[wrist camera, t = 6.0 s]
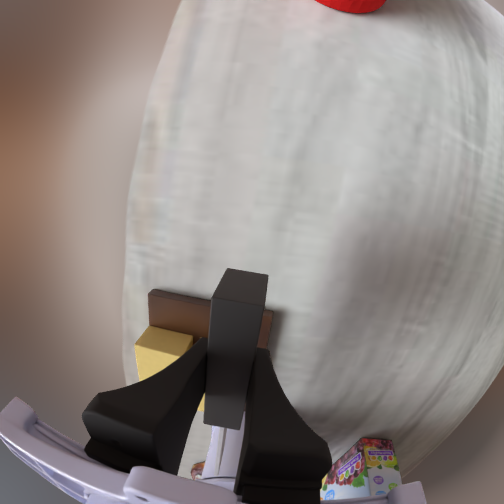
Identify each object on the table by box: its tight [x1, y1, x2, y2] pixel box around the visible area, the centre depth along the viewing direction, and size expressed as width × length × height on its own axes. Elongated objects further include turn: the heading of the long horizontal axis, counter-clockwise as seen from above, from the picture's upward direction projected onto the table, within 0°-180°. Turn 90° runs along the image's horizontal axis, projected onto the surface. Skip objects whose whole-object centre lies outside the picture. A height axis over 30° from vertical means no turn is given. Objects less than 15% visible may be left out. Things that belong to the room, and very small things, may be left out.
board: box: [148, 289, 273, 412], centre depth 23 cm, size 12×10×1 cm
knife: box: [203, 268, 268, 476], centre depth 14 cm, size 16×2×3 cm, turn 172°
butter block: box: [134, 326, 193, 381], centre depth 21 cm, size 6×4×3 cm, turn 173°
